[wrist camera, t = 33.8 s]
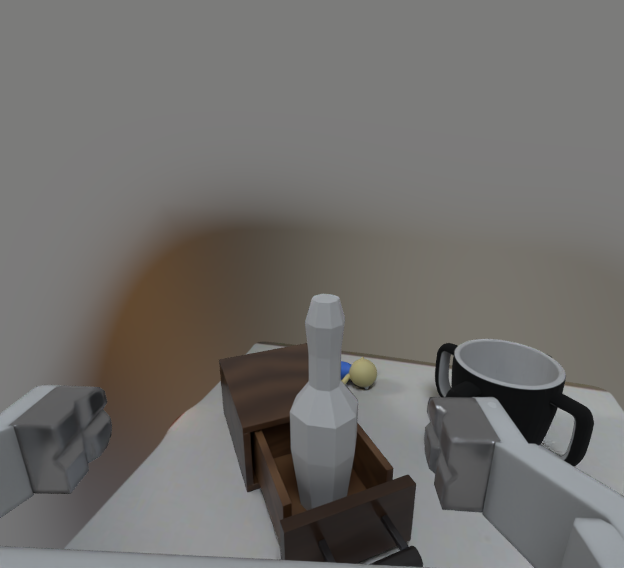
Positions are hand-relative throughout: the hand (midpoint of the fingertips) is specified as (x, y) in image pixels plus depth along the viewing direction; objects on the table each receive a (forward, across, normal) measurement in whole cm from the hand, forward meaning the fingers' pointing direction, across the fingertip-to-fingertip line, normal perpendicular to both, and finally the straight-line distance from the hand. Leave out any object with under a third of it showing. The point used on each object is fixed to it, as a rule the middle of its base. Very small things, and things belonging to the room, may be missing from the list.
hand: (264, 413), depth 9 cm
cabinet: (+34, +4, +29) cm, 45 cm away
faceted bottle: (+22, -1, +27) cm, 35 cm away
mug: (+34, -23, +29) cm, 51 cm away
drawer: (+21, -2, +28) cm, 35 cm away
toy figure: (+47, -4, +29) cm, 56 cm away
